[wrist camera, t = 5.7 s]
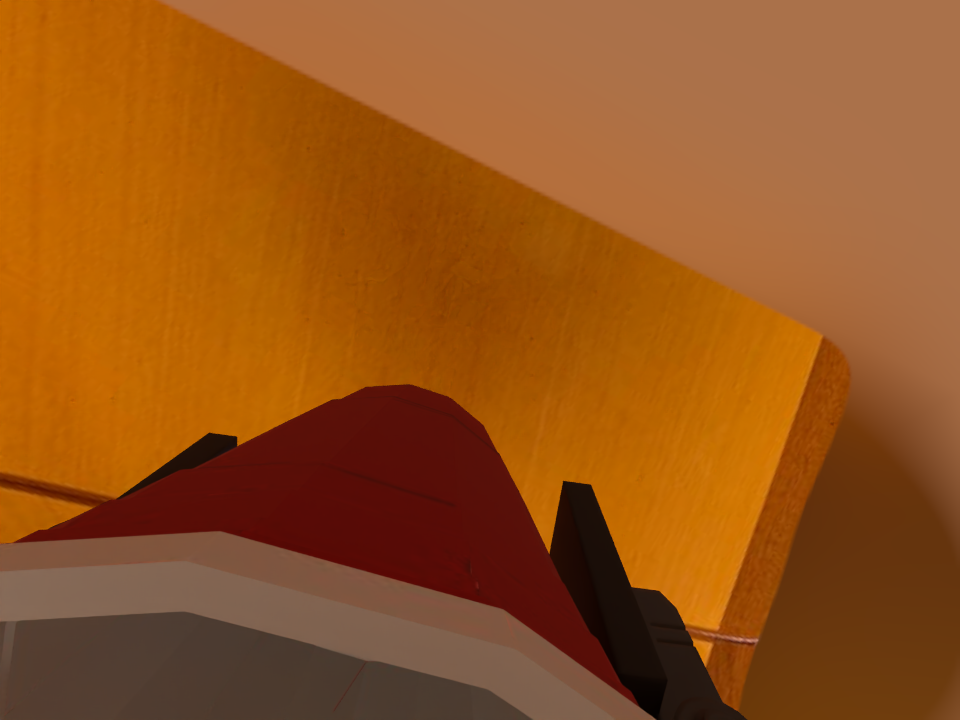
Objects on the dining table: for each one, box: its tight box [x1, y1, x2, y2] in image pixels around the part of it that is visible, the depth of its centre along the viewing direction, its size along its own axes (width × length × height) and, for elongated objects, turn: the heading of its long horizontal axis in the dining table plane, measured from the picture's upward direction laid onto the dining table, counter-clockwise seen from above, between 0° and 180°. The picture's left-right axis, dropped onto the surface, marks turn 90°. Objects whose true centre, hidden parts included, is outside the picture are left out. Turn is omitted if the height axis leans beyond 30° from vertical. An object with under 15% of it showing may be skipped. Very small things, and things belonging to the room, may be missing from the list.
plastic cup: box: [0, 384, 656, 720], centre depth 10 cm, size 11×11×12 cm
